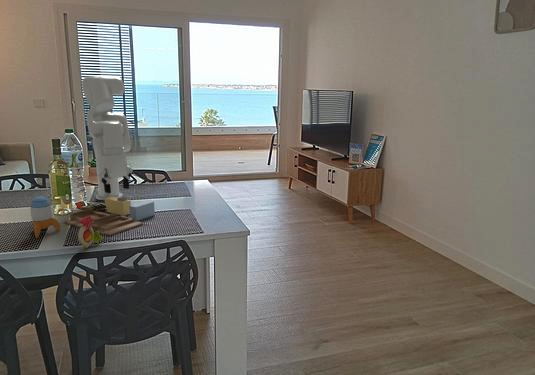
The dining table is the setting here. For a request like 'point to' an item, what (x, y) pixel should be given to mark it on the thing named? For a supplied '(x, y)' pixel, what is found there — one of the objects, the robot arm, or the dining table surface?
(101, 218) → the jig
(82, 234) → the bird rattle
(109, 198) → the block
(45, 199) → the toy rocket
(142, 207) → the plank
